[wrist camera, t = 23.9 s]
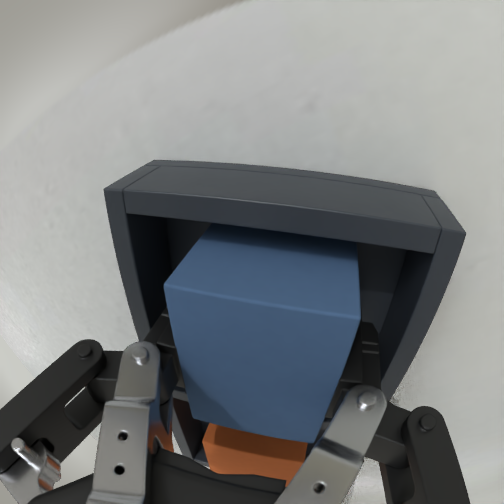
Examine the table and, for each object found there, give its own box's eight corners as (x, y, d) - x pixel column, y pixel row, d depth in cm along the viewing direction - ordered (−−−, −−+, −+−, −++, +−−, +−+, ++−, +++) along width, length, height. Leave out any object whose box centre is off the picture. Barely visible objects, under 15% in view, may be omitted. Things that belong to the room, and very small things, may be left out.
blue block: (221, 351, 15) (192, 418, 12) (213, 218, 11) (161, 284, 8) (324, 370, 14) (313, 444, 11) (357, 237, 10) (361, 318, 7)
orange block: (229, 434, 20) (213, 480, 17) (224, 381, 17) (201, 441, 13) (297, 447, 19) (287, 496, 16) (315, 397, 16) (304, 463, 12)
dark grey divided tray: (198, 426, 22) (184, 459, 20) (153, 159, 12) (102, 188, 9) (331, 451, 20) (325, 488, 18) (435, 190, 10) (467, 232, 7)
